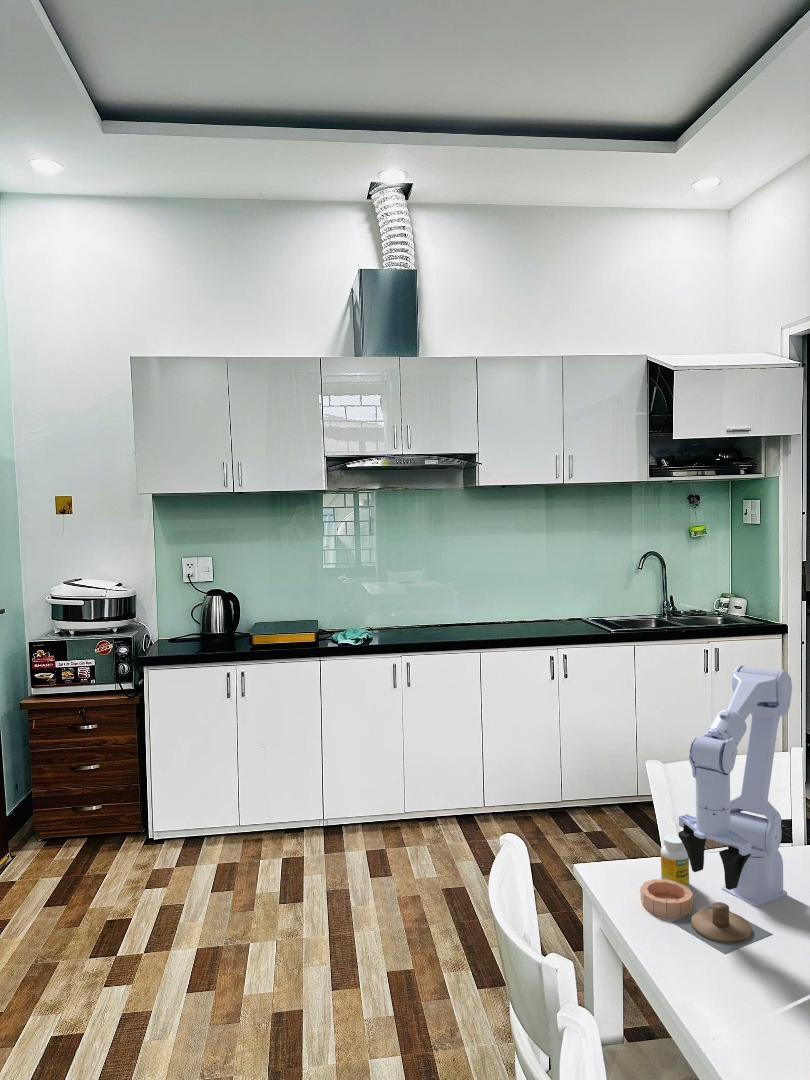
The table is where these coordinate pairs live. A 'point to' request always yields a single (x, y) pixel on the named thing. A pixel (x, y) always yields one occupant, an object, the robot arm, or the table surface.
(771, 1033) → the table surface
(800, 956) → the table surface
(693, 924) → the lid
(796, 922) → the table surface
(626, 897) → the table surface
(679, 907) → the bowl
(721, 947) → the mat
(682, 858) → the supplement bottle
